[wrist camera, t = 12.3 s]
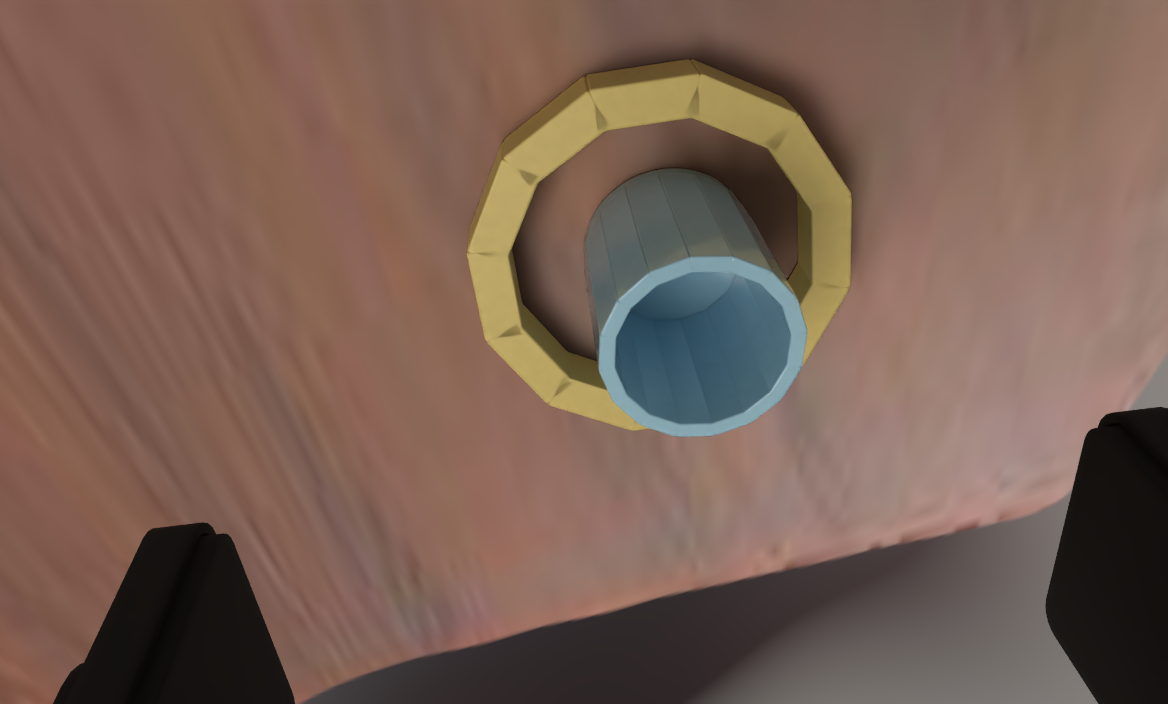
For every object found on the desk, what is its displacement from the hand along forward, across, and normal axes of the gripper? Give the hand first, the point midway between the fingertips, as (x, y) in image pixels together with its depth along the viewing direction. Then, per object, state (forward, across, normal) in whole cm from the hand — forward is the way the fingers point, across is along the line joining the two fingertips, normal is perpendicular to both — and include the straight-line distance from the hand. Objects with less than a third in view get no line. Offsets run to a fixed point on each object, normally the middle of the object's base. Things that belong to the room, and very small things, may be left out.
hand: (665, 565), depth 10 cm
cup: (+23, -3, +8) cm, 25 cm away
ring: (+23, -3, +7) cm, 25 cm away
